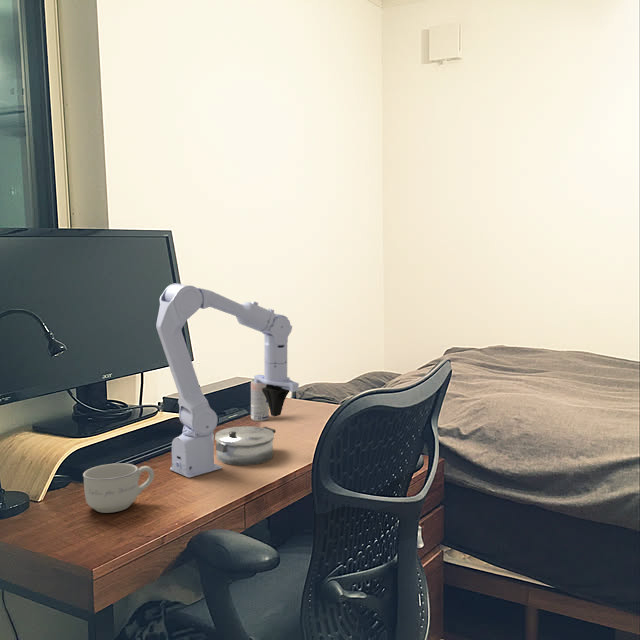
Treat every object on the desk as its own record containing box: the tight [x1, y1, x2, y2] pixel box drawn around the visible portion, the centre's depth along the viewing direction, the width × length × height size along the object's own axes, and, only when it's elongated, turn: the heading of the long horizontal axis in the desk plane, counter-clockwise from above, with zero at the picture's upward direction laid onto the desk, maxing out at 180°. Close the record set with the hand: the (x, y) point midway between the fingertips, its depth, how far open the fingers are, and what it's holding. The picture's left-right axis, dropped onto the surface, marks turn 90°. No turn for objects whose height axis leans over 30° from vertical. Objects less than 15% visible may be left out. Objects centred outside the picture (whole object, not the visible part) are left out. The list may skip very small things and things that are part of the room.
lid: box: [214, 425, 276, 447], centre depth 175 cm, size 16×15×2 cm
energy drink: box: [250, 378, 270, 422], centre depth 210 cm, size 5×5×12 cm
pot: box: [215, 439, 274, 466], centre depth 175 cm, size 15×14×4 cm
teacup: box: [82, 462, 155, 514], centre depth 142 cm, size 14×11×8 cm
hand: (275, 415), depth 175 cm, fingers closed
